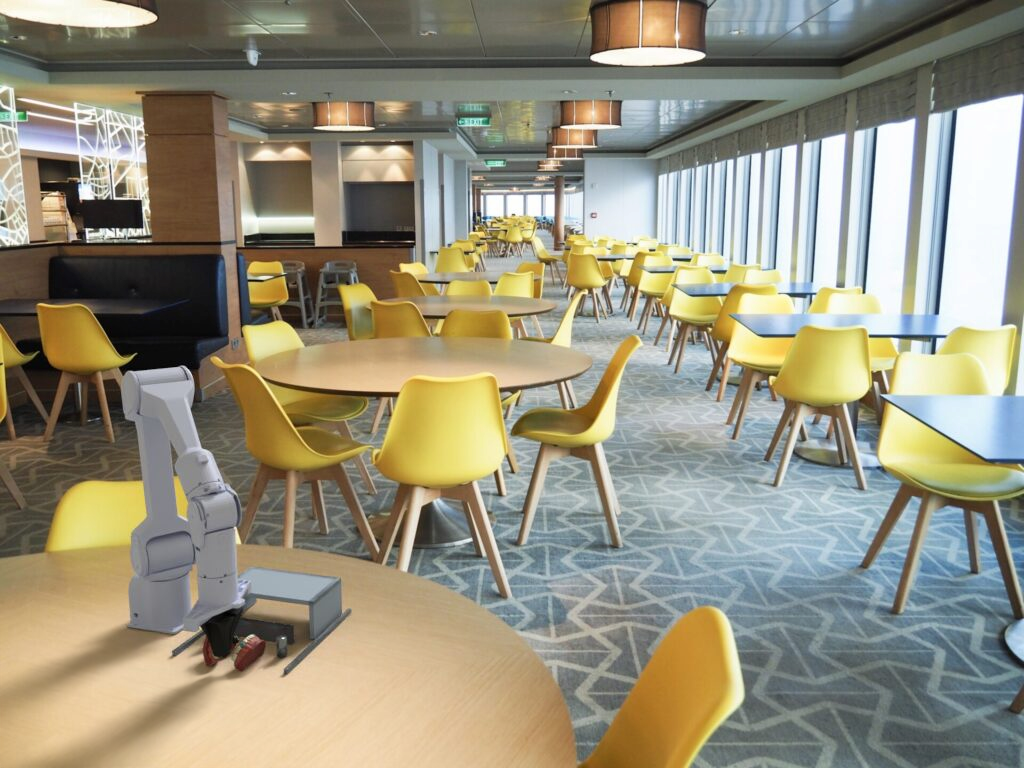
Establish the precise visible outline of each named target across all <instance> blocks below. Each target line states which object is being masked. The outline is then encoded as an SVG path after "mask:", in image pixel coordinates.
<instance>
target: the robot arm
mask: <svg viewBox="0 0 1024 768" xmlns="http://www.w3.org/2000/svg"><path fill="white" fill-rule="evenodd" d="M195 389H196V388H195V381H194V377H193V375H192V372H191V370H190V369H188V368H187V366H185V365H179V366H177V367H167V368H166V367H165V368H156V369H147V370H145V369H144V370H136V371H134V370H127V371H126V372H125V374H124V375H123V376H122V379H121V382H120V392H121V400H122V401H121V402H122V410H123V411H122V412H123V414H124V419H125V420H127V421H132V422H135V423H134V424H135V428H136V433H137V442H138V450H139V452H138V453H139V459H140V469H141V475H142V476H141V477H142V487H143V497H144V504H145V505H144V506H145V514H146V517H145V518H144V519H143V520H142V521H141V522H139V524H138V525H137V526H136V527H135V528H134V529H132V531H131V532H130V534H131V535H130V548H129V549H130V550H129V557H130V563H131V567H132V570H133V572H134V573H133V575H132V576H131V578H130V580H129V583H128V605H129V608H128V609H129V618H130V622H127V628H133V629H138V630H139V629H140V630H144V631H150V632H151V631H153V632H156V633H158V632H159V633H165V634H170V635H171V634H172V635H175V634H177V633H179V632H180V631H182V630H183V632H189V633H198V632H199V631H200V628H201V630H203V631H204V633H205V635H204V636H205V638H206V637H207V639H208V641H209V643H210V646H211V649H212V652H213V655H214V657H220V658H221V659H226V658H227V657H229V656H230V654H231V652H232V650H231V647H232V642H233V637H235V636H234V633H235V630H236V627H237V624H238V622H239V619H240V617H241V618H242V616H243V614H244V612H243V607H242V606H243V605H244V604H245V599H242V597H243V595H244V594H246V595H248V594H250V593H251V592H252V590H251V581H248V580H239V581H238V575H239V573H238V559H237V557H238V555H237V539H236V538H237V537H236V529H235V527H236V528H238V527H239V526H240V525H241V523H242V520H243V512H242V511H243V510H242V504H241V501H240V499H239V496H238V494H237V492H236V491H235V490H234V489H233V488H232V487H231V486H230V484H229V483H225V482H224V479H223V477H222V474H221V472H220V470H219V467H218V464H217V462H216V460H215V457H214V455H213V453H212V452H211V451H209V450H208V449H205V448H202V444H201V442H200V437H199V433H198V431H197V428H196V424H195V420H194V416H193V414H192V411H191V408H192V407H193V404H194V403H193V402H194V397H195V396H194V395H195ZM171 445H172V446H173V448H174V450H175V452H176V454H177V456H178V457H177V460H176V462H175V463H174V466H173V459H172V458H173V457H172V450H171V449H172V447H171ZM173 467H174V469H175V472H176V475H177V477H178V481H179V483H180V486H181V489H182V491H183V493H184V496H185V500H186V501H187V506H186V517H184V516H182V515H179V513H178V505H177V496H176V487H175V486H176V485H175V478H174V477H175V476H174V469H173ZM194 565H196V577H197V579H196V580H197V596H198V599H197V600H196V602H195V603H194V604H193V607H192V597H191V596H192V595H191V581H190V580H191V578H190V572H192V571H193V570H194V569H193V567H194ZM220 658H219V659H220Z"/></svg>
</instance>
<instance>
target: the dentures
mask: <svg viewBox="0 0 1024 768" xmlns="http://www.w3.org/2000/svg"><path fill="white" fill-rule="evenodd" d="M266 642H267V641H264V640H260V639H259V638H258V637H257V636H255V635H254V634H252V635H249V636H248V637H246V638H243V640H242V642H241V641H240V640H239V637H237V636H235V633H234V637H233V642H232V647H231V651H233V650H234V649H235V652H233V655H232V656H231V660H232V662H233V666H234V669H235V670H236V671H239V672H243V671H245V670H246V669H247V668H248V667H249V666H250V665H252V664H253V663H254V662H255V661H257V660H258V659H259V658H260V657H261V656H262V655H264V653H265V649H266V646H267V645H266ZM239 643H240V644H239ZM202 644H203V645H202V653H203V654H202V656H203V661H204V663H205V666H206V667H209V666H212V665H214V664H216V663H218V662H219V661H220V657H214V655H213V652H212V649H211V646H210V643H209V641H208V639H207V637H206V636H205V638H204V641H203V643H202ZM238 644H239V646H237V645H238Z"/></svg>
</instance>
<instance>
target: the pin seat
mask: <svg viewBox="0 0 1024 768" xmlns="http://www.w3.org/2000/svg"><path fill="white" fill-rule="evenodd" d="M350 613H351V614H352V608H348V607H347V609H346V610H344V612H342V614H341V615H340V616H339V617H338V618H337V619H336V620H335V621H334V622H332V623H331V624H330V625H329V626H328V627H327V628H326V629H325V630H324V631H323V632H322V633H321V634H320V635H319V636H318V637H316V638H315V639H313V640H312V641H311V643H310V644H309V645H307V646H306V647H305V648H304V649H303V650H302V651H301V652H300V653H299V654H298V655H297V656H296V657H295V658H294V659H293V660H291V662H289V663H288V664H287V665H286V666H285V667H284V668H283V674H284V675H289V674H290V673H291V672H292V671H293V669H295V668H296V667H297V666H298V665H299V664H300V663H301V662H302V661H303V660H304V659H305V658H306V657H307V656H308V655H310V653H312V651H314V650H315V648H317V647H318V646H319V645H320V644H321V643H322V642H323V641H324V640H326V638H327V637H328V636H329V635H330V634H332V632H334V630H335V629H336V628H337V627H339V626H340V625H341V624H342V623H343V622H344V621H345V620H346V619H347V618H348V617H349V616H350V615H351V614H350ZM349 614H350V615H349ZM348 615H349V616H348ZM347 616H348V617H347ZM346 617H347V618H346ZM345 618H346V619H345ZM344 619H345V620H344ZM343 620H344V621H343ZM342 621H343V622H342ZM341 622H342V623H341ZM340 623H341V624H340ZM339 624H340V625H339ZM252 634H254V635H255V636H257V637H258V638H259V639H260V640H264V641H265V642H267V643H268V642H269V643H274V644H275V645H276V658H278V659H283V658H287V656H288V645H289V646H292V645H293V644H295V625H294V624H290V623H289V624H288V623H282V622H281V623H280V622H276V621H268V620H259V619H253V618H247V617H242V616H241V617H240V619H239V622H238V624H237V627H236V630H235V636H237V637H238V638H243V639H245V638H246V637H248V636H249V635H252ZM203 636H206V635H205V633H204V631H203V630H202V629H199V630H198V631H197V632H195V634H193V635H192V636H191V637H189V638H188V639H187V640H185V641H184V642H183V643H181V644H180V645H178V646H177V647H175V648H174V649H172V651H171V655H172V656H173V657H177V656H178V655H179V654H181V653H182V652H184V651H185V650H186V649H188V648H189V647H190V646H192V645H194V644H195V642H197V641H198V640H200V639H201V638H202V637H203ZM235 636H234V637H235Z"/></svg>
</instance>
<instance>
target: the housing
mask: <svg viewBox="0 0 1024 768" xmlns="http://www.w3.org/2000/svg"><path fill="white" fill-rule="evenodd" d="M239 580H248V581H251V590H252V592H251V593H250V594H248V595H246V594H244V595H243V597H242V599H245V604H244V605H243V606H242V607H243V613H244V612H245V611H246V610H248V609H249V608H251V606H253V605H254V604H256V603H257V599H259V600H266V601H275V602H281V603H289V604H293V605H294V604H295V605H302V606H308V612H309V613H308V614H309V615H308V617H309V639H311V640H315V639H316V638H317V637H318V636H319V635H320V634H321V633H323V632H324V631H325V630H326V629H327V628H328V627H329V626H330V625H331V624H332V623H333V622H334V621H335V620H336V619H337V618H339V617H340V616H341V615H342V614H343V597H342V596H343V594H342V578H341V577H337V576H330V575H329V576H328V575H321V574H313V573H306V572H298V571H289V570H282V569H275V568H268V567H267V568H266V567H259V566H258V567H257V566H250V567H248V568H246V569H245V570H244V571H242V572H241V573H238V581H239Z"/></svg>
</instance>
